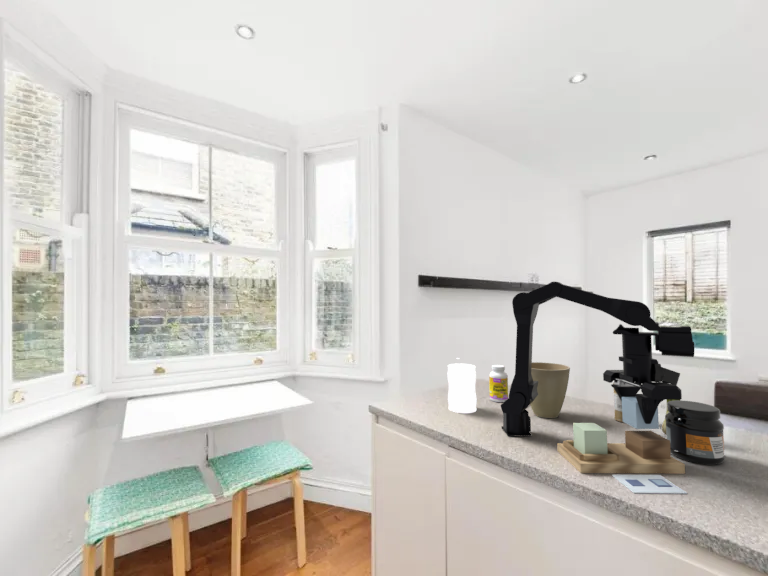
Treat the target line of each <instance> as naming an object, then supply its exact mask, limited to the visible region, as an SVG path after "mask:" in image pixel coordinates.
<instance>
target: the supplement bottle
mask: <svg viewBox="0 0 768 576" xmlns="http://www.w3.org/2000/svg"><path fill="white" fill-rule="evenodd" d="M491 370H492V371H491V372H490V373H489V384H488V385H489V386H488V387H489V389H488V390H489V392H488V393H489V400H490V401H492V402H496V403H504V402H505V401H506V400H507V399H508V398H509V384H508V383H509V381H508V380H509V378H508V374H507V373H506V372H505V370H506V367H505V365H502V364H492V365H491Z"/></svg>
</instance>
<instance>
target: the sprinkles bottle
mask: <svg viewBox="0 0 768 576" xmlns="http://www.w3.org/2000/svg"><path fill="white" fill-rule="evenodd" d="M612 384H614V381H613V382H612ZM613 409H614V418H613V419H614V420H615V421H616V422H619V423H624V422H623V419H622V401H621V399H620V398H619V396H618V394H617V393H616V391H615V390H614V389H613Z"/></svg>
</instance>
